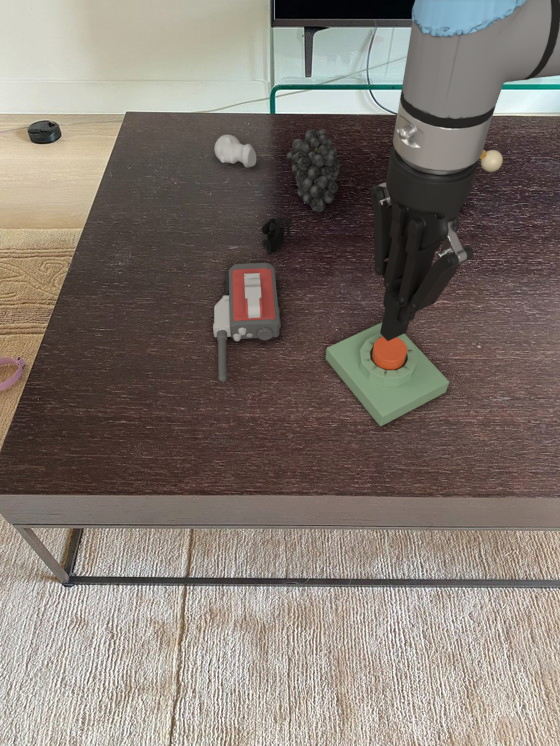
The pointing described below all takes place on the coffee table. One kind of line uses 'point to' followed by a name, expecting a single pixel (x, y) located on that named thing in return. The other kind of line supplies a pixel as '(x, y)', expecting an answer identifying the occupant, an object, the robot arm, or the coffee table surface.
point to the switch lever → (491, 160)
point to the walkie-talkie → (246, 308)
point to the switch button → (389, 353)
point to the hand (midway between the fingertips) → (393, 332)
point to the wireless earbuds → (275, 234)
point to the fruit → (315, 168)
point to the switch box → (385, 376)
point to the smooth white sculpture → (234, 151)
